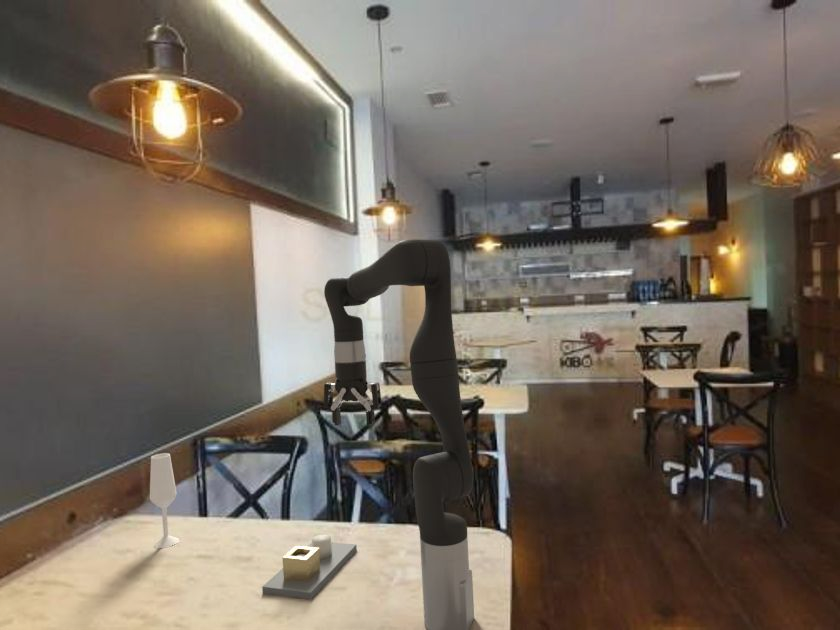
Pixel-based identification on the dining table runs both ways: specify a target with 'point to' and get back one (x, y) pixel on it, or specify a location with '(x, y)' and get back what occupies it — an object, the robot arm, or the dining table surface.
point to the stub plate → (330, 563)
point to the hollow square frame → (301, 563)
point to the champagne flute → (163, 493)
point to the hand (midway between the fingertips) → (353, 425)
